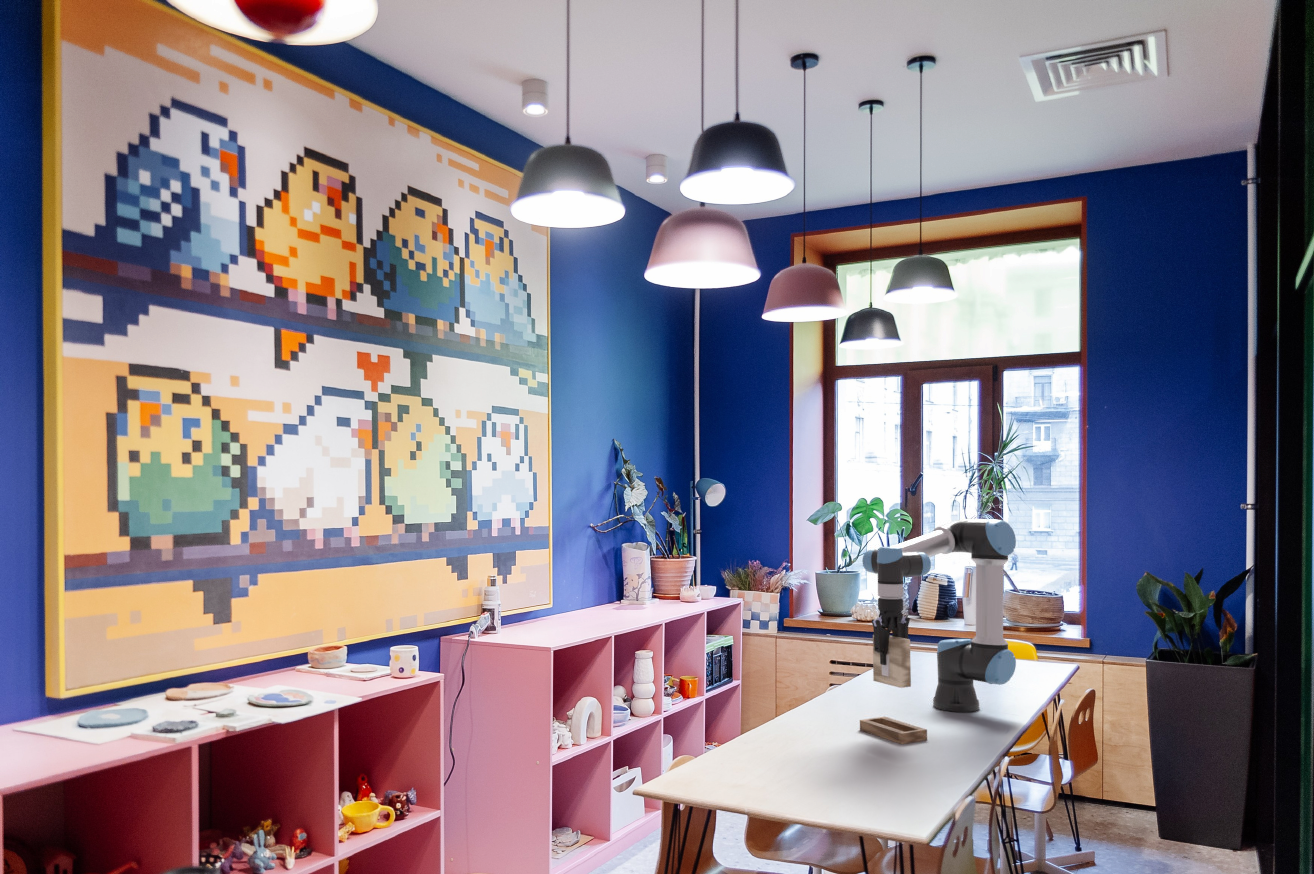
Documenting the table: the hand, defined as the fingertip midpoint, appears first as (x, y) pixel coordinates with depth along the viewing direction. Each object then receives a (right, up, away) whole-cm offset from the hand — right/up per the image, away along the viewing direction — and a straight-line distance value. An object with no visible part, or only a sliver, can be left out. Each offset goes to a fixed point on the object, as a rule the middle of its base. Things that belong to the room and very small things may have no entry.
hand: (891, 674), depth 278 cm
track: (0, -18, -1) cm, 18 cm away
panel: (0, -3, 0) cm, 3 cm away
